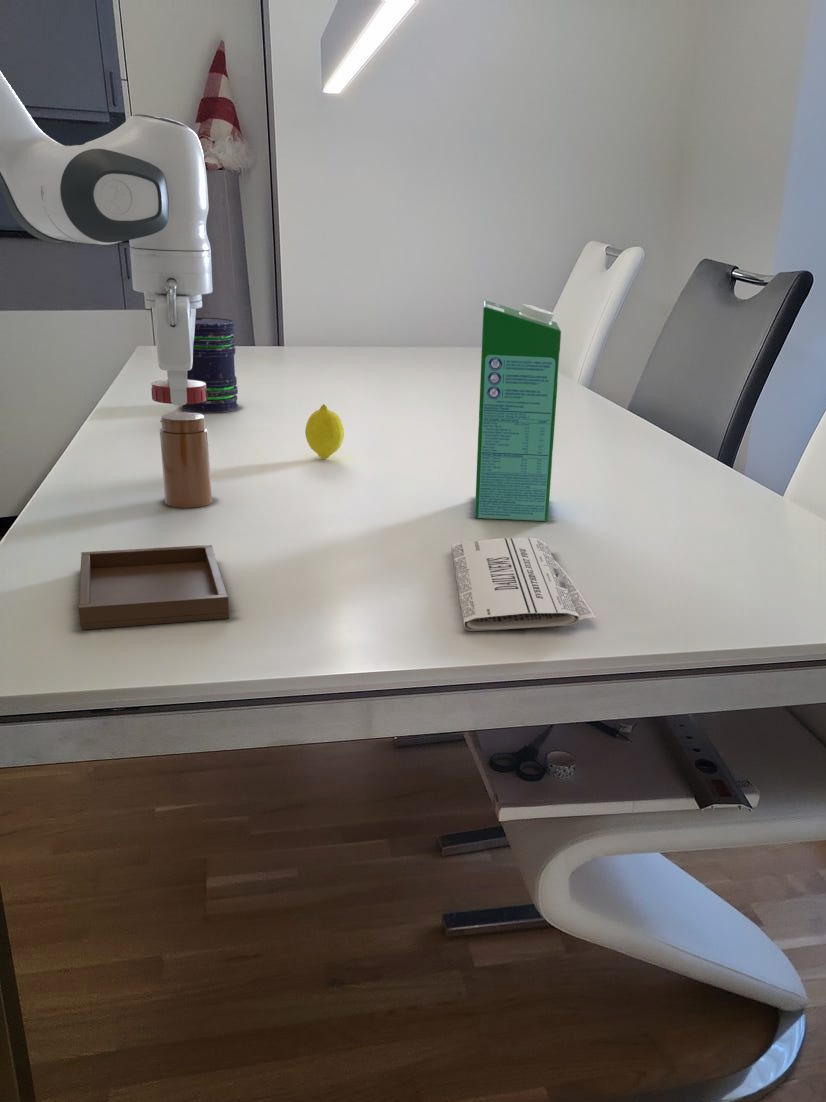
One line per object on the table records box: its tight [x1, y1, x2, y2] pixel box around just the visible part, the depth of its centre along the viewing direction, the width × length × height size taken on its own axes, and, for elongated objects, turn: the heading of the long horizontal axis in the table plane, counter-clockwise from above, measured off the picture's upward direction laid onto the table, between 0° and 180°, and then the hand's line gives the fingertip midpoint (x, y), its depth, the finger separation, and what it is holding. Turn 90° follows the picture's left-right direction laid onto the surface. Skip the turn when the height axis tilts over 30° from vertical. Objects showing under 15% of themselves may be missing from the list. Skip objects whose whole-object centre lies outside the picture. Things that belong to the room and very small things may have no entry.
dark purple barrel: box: [181, 317, 239, 414], centre depth 181 cm, size 10×10×15 cm
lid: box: [150, 379, 207, 405], centre depth 123 cm, size 6×6×2 cm
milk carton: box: [474, 299, 562, 522], centre depth 126 cm, size 9×9×25 cm
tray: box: [78, 544, 230, 631], centre depth 98 cm, size 16×13×2 cm
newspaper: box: [450, 537, 597, 632], centre depth 104 cm, size 23×12×2 cm, turn 4°
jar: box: [159, 411, 213, 509], centre depth 126 cm, size 6×6×11 cm
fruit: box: [304, 403, 345, 460], centre depth 151 cm, size 6×6×8 cm
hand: (179, 398), depth 123 cm, fingers closed on lid, 6 cm apart
